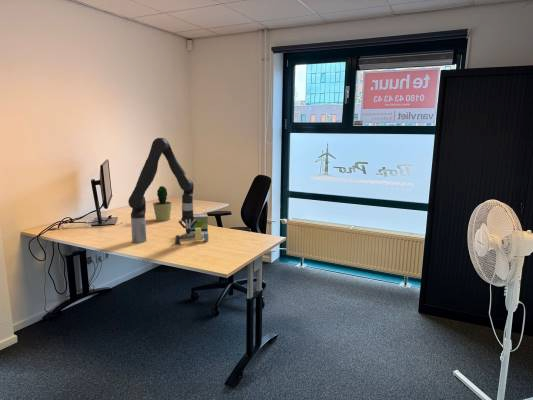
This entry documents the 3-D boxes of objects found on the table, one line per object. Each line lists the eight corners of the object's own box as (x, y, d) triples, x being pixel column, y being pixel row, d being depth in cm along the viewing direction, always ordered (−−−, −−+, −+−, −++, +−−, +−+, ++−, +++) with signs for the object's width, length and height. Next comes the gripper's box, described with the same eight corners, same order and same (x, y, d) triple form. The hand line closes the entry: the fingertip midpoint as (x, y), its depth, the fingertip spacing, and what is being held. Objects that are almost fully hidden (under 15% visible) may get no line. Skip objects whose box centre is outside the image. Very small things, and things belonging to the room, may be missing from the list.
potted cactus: (151, 219, 323) (149, 185, 317) (168, 217, 332) (166, 183, 327) (157, 222, 311) (156, 187, 305) (175, 220, 320) (173, 185, 315)
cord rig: (176, 244, 252) (175, 236, 251) (175, 242, 258) (174, 233, 256) (208, 242, 259) (208, 233, 258) (207, 239, 264) (207, 231, 263)
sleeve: (195, 240, 256) (194, 229, 255) (194, 238, 261) (194, 227, 259) (202, 240, 258) (202, 228, 256) (201, 238, 262) (201, 227, 261)
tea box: (187, 236, 272) (186, 216, 269) (187, 233, 281) (186, 213, 279) (208, 235, 274) (207, 216, 272) (207, 232, 284) (207, 213, 281)
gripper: (178, 210, 248) (178, 235, 251) (198, 209, 252) (198, 234, 255) (177, 208, 255) (177, 233, 258) (196, 207, 259) (197, 231, 262)
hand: (188, 233), depth 257 cm, fingers closed
